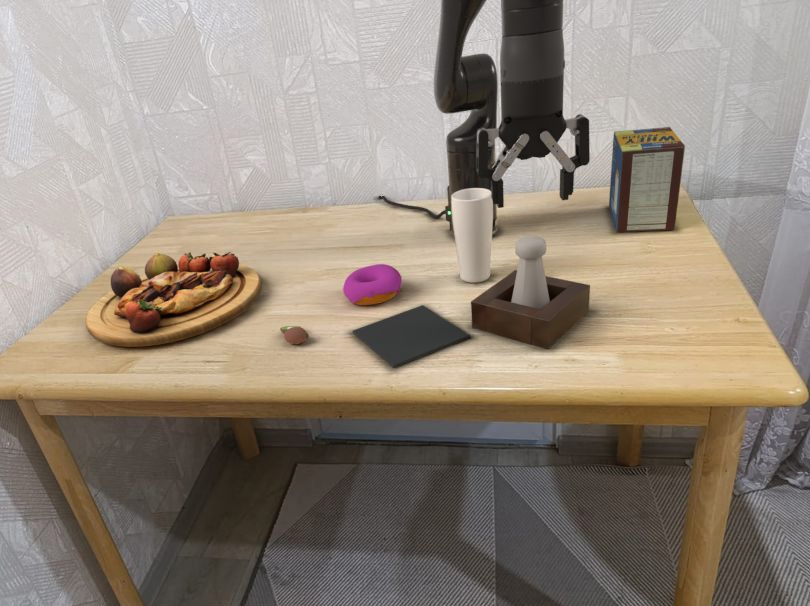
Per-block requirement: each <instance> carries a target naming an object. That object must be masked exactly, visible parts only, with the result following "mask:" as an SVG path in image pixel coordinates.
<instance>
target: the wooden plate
mask: <svg viewBox="0 0 810 606" xmlns="http://www.w3.org/2000/svg"><path fill="white" fill-rule="evenodd" d="M212 254H213V255H214V256H209V257H208V256H207V254H206V253H203V254H201V255H196V256H193V255H192V253H191V251H189V252H187V253H184V254H183V255H181V257H180V258H179V260H178V262H177V261H176V260H175V259H174V258H173V257H171V256H170V255H167V254H162V253H159V252H156V253H154V255H152V256H151V257H150V258H149V259H148V261H147V262H146V263H145V266H144V275H142V276H140V275H139V274H138V273H137V272H136V271H134V270H133V269H132V268H129V267H125V266H121V265H119V266H118V267H117V268H115V270H113V272H112V274H111V276H110V288H111V291H109V292H107V293H106V294H105V295H103V296H102V297H101V298H100V299H97V301H96V302H94V304H93V305H92V306H91V308H90V309H89V310H88V312H87V313H86V318H85V327H86V330H87V332H88V333H89V335H90V336H91V337H92V338H94V339H95V340H97V342H101V343H103V344H106V345H111V346H115V347H125V348H126V347H128V348H129V347H130V348H132V347H133V348H137V347H139V348H140V347H150V346H158V345H164V344H165V345H166V344H170V343H174V342H178V341H183V340H185V339H189V338H193V337H196V336H199V335H202V334H205V333H206V332H209V331H212V330H214V329H216V328H218V327H220V326H222V325H224V324H226V323H228V322H230V321H232V320H234V319H235V318H237V317H238V316H240V315H241V314H242V313H244V312H245V311H246V310H248V309H249V308H250V307H251V306H252V305H253V304H254V303H255V301H256V300H258V297H259V296H260V294H261V291H262V287H263V286H262V284H263V283H262V279H261V276H260V274H259V273H258V272H257V271H256V270H255V269H254V268H252V267H250V266H248V265H247V264H245V263H244V264H243V263H240V260H239V258H238V256H237V255H235V253H233V252H231V251H229V252H226V253H225V254H222V255H220V254H219V253H217V252H212ZM177 263H178V264H177Z"/></svg>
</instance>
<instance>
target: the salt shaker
mask: <svg viewBox="0 0 810 606" xmlns="http://www.w3.org/2000/svg"><path fill="white" fill-rule="evenodd" d="M514 248H515V249H514V251H515V255H516V256H517V257H518V263H517V269H516V270H517V274H516V280H515V285H514V290H513V295H512V300H511V302H512V303H516V304H520V305H525V306H529V307H533V308H537V309H542V308H543V307H545V306H546V305H547V304H548V303H549V302H550V300H549V295H548V289H547V283H546V277H545V276H546V272H545V267H544V261H543V257H544V255H546V253H547V242H546V239H544V237H542V236H540V235H534V234H529V235H523V236H520V237H519V238H518V239H517V240H516V241H515V246H514Z"/></svg>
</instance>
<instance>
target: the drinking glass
mask: <svg viewBox="0 0 810 606" xmlns="http://www.w3.org/2000/svg"><path fill="white" fill-rule="evenodd" d="M451 210H452V222H453V229H454V236H455V237H454V241H455V248H456V249H455V250H456V255H457V262H458V263H457V264H458V273H459V279H460V280H462V282H465V283H470V284H477V283H483V282H485V281H487V280H489V278H490V276H491V261H492V260H491V257H492V240H493V236H492V227H493V200H492V198H491V191H490V190H488V189H484V188H469V189H463V190H459V191H457V192H455V193H453V194H452V196H451Z"/></svg>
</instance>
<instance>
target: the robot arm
mask: <svg viewBox="0 0 810 606" xmlns="http://www.w3.org/2000/svg"><path fill="white" fill-rule="evenodd" d="M486 2H487V0H440V17H439V29H438V38H437V45H436V54H435V60H434V72H433V96H434V102H435V105H436V107H437V109H438V110H439V111H440V113H442V114H444V115H450V114H458V113H464V112H469V115H468V117H467V118H466V119H465V120H464V122H462V123H461V124H460V125H458V126H457V127H455V128H454V129H452V130H451V131H450V132H448V133H447V135H446V138H445V143H446V145H445V148H446V160H447V161H446V163H447V171H448V172H447V175H448V186H447V187H446V191H447V205H445V206H444V209H443V210H441V212H440V213H438V214H434V212H433V211H431V210H429V209H428V208H426V207H422V206H418V205H417V206H416V205H410V204H409V205H408V204H404V203H399V202H395V201H392V200H389V199H388V198H387V197H386V196H385V195H384V196H382V197H381V196H380V195H379V196H378V197H377V199H378V200H383V201H384V202H385V203H386V204H388V205H391V206H395V207H399V208H403V209H409V210H416V211H421V212H425V213H427V214H428V215H429V216H430V217H431V218H433V219H441V218H442V216H444V215H445V221H446V222H448V223H449V232H451V236H452V237H453V238H455V236H454V229H453V222H452V210H451V196H452V194H453V193H455V192H457V191H459V190H463V189H469V188H484V189H488V190H490V191H491V198H492V200H493V227H492V237H493V236H494V235H496V234H497V233H498V228H499V227H498V223H499V216H498V209H501V208H504V207H505V205H504V202H505V200H504V180H503V178H502V177H503V176H504V175H505V173H506V172H507V170H508V169H509V168H510V167H512V165H513V163H514V161H515V160H516V159H519V160H520V161H524V160H525V161H526V160H529V159H532V158H539V159H541V158H546V156H548V155H550V154H551V155H552V156H553V157H554V158H555V160H556V161H557V162H558V163H559V164H560V165H561V169H559V198H560V200H561V201H569V198H570V197H569V196H572V195H573V193H574V187H575V186H574V185H575V172H576V170H577V169H578V168H580V167H582V166H584V167H585V166H587V165H588V164H589V163H590V161H591V159H590V157H591V156H590V155H591V154H590V119H589V118H587V117H586V116H584V115H583V114H581V113H579V114H577V115H576V116H575V117H572V118H567V119H565V116H564V83H565V82H564V81H565V80H564V79H565V68H566V59H565V41H564V33H563V32H564V31H563V29H564V28H563V27H564V0H500V6H501V7H500V10H501V11H500V12H501V13H500V14H501V16H500V17H501V35H502V36H501V43H500V54H499V55H500V56H499V67H500V68H499V69H500V71H499V72H500V113H501V114H500V115H501V120H500V124H499V126H498V94H499V93H498V91H499V82H498V71H497V67H496V66H497V65H496V63H495V61H494V59H493V58H492V56H491V55H490V54H488V53H475V54H469V55H464V56H462V55H463V51H464V47H465V42H466V39H467V37H468V34H469V31H470V29H471V28H472V26H473V23H474V22H475V20H476V18H477V17H478V15H479V14H480V12H481V10H482V9H483V7H484V5H486ZM567 129H568V130H569V133H570V134H571V135H572V136H574V153H575V154H574V155H572V156H571V157H570V156H568V154H567V153H566V152H565V150H564V149H563V148H562V147H561V146H560V144H559V143H558V142H559V141H560V140H561V138H562V136H563V135H564V133H565V132H566V130H567ZM498 138H499V139H500V141H501V142H502V143H503V144H504V147H503V148H502V150H501V151H500V153H499V154H498V156H497V159H496V139H498Z"/></svg>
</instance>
